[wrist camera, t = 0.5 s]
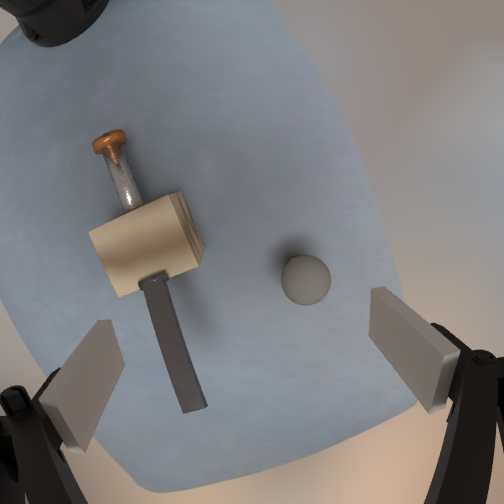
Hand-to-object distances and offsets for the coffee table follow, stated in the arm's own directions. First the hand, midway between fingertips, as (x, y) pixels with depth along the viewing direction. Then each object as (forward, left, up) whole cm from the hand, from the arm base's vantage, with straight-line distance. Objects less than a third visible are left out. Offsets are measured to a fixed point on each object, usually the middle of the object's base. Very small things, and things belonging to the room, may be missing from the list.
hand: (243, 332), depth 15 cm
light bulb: (+6, +6, -26) cm, 28 cm away
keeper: (+6, -9, -15) cm, 18 cm away
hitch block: (-4, -9, -26) cm, 28 cm away
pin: (-10, -9, -24) cm, 27 cm away
